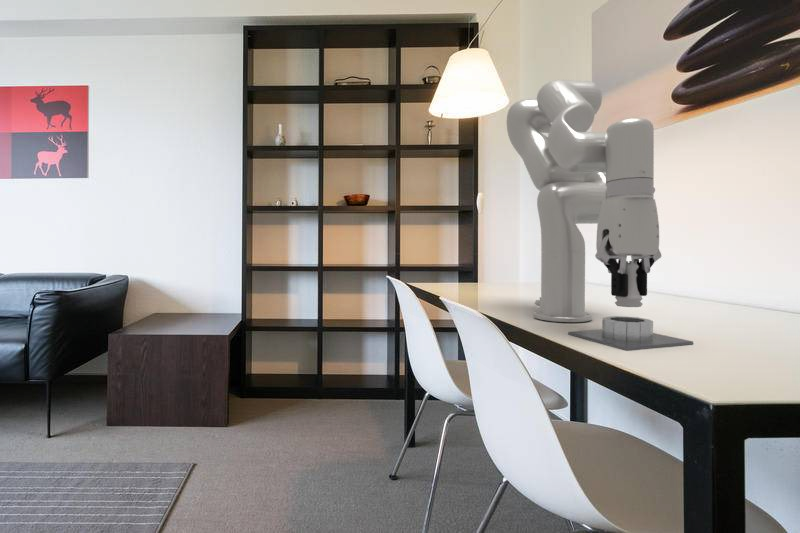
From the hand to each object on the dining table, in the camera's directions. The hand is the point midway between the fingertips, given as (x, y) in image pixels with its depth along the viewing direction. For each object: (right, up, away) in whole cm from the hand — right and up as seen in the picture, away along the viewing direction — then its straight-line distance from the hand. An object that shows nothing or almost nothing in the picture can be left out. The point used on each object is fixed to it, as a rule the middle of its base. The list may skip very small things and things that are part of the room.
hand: (628, 294), depth 77 cm
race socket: (0, -8, +1) cm, 8 cm away
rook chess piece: (0, -2, 0) cm, 2 cm away
